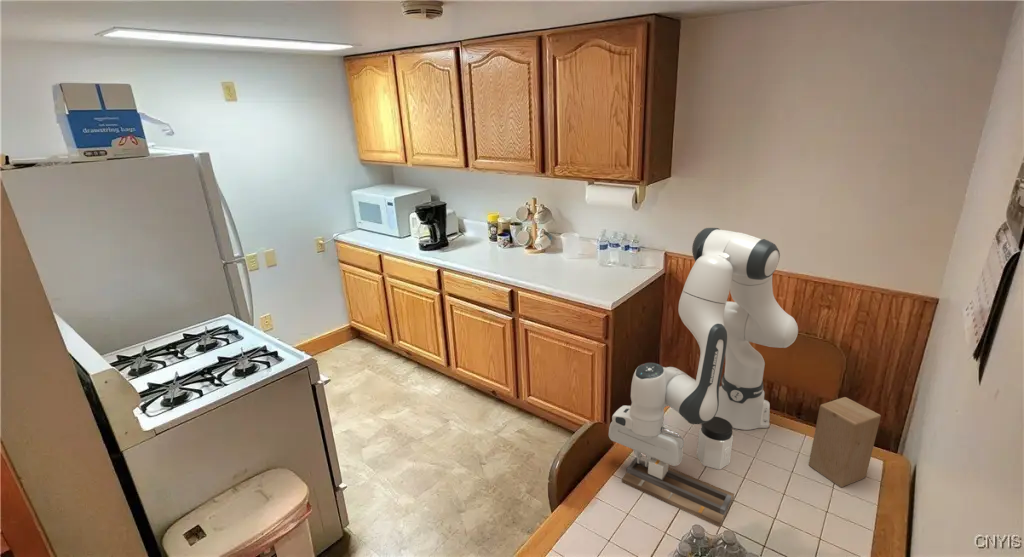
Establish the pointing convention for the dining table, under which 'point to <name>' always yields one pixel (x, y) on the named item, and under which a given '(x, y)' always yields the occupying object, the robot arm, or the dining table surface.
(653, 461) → the fader knob
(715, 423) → the jar
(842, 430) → the wooden block
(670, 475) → the slider track
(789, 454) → the dining table surface
